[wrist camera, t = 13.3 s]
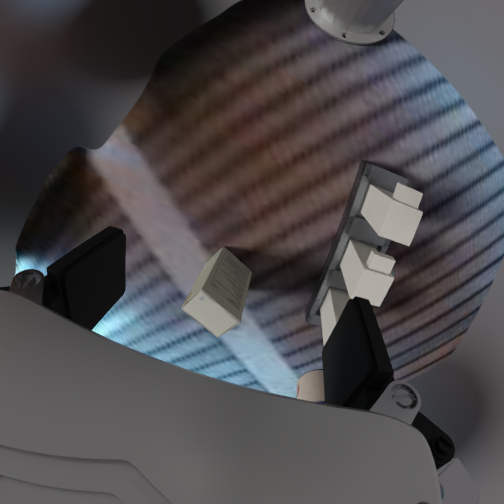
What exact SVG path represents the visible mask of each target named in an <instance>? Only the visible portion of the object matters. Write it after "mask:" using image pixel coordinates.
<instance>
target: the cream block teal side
mask: <svg viewBox="0 0 504 504" xmlns="http://www.w3.org/2000/svg"><path fill="white" fill-rule="evenodd" d="M422 196H423V194H422V193H421V192H419V191H417V190H414V189H412V188H410V187H408V186H405V185H403V184H401V183H398V182H397V185H396V188H395V191H394V193H393V192H390V191H388V190H385V189H383V188H380V187H377V186H375V185H372V184H370V183H369V186H368V189H367V192H366V195H365V198H364V201H363V204H362V207H361V210H360V212H361V214H362V215H363V216H364V217H365V219H366V220H367V221H368V223H369V224H370V225H371V226H372V228H373V229H374V230H375V232H376V233H377V234H378V235H379V236H381V237H384V238H387V239H390V240H393V241H396V242H398V243H401V244H404V245H407V246H410V244H411V241H412V239H413V237H414V234H415V232H416V229H417V227H418V225H419V222H420V220H421V217H422V214H423V212H422V211H420V210H419V209H418V207H419V204H420V201H421V198H422Z"/></svg>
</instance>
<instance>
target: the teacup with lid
mask: <svg viewBox="0 0 504 504" xmlns="http://www.w3.org/2000/svg"><path fill="white" fill-rule="evenodd" d="M297 399H303V400H308V401H313V402H319V403H325V397H324V377H323V370H314V371H310V372H308V373H306V374H304V375H302V376H301V377H300V378H299V380H298V382H297Z"/></svg>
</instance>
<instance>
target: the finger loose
mask: <svg viewBox="0 0 504 504" xmlns="http://www.w3.org/2000/svg"><path fill="white" fill-rule="evenodd" d="M349 299H350V297H349V294H348V292H347V291H343V290H339V289H335V288H332V287H329V289H328V292H327V294H326V296H325V298H324V301H323V303H322V305H321V307H320V312H321V322H322V332H323V343H324V345H325V344H326V342H327V340H328V338H329V336H330V335H331V333H332V331H333V329H334V327H335V325H336V323H337V321H338V319H339V318H340V316H341V314H342V312H343V310H344V308H345V306H346V304H347V302H348V300H349Z"/></svg>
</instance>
